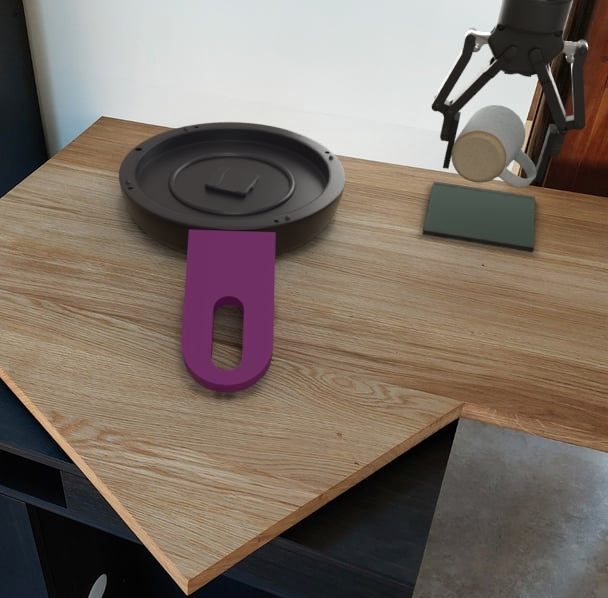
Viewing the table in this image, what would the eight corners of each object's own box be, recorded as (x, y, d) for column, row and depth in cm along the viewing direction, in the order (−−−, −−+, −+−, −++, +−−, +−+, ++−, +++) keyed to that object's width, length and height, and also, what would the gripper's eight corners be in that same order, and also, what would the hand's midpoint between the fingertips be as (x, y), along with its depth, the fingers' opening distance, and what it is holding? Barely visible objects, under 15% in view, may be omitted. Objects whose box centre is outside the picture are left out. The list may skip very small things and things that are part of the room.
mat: (533, 200, 110) (535, 196, 109) (532, 252, 100) (534, 247, 99) (433, 185, 112) (434, 181, 112) (422, 234, 103) (423, 230, 102)
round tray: (363, 178, 114) (176, 143, 122) (369, 139, 110) (174, 106, 117) (303, 289, 93) (81, 238, 101) (307, 246, 89) (76, 197, 97)
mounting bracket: (268, 415, 85) (272, 271, 92) (272, 386, 77) (276, 232, 84) (182, 411, 86) (192, 268, 92) (177, 382, 78) (189, 229, 84)
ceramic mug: (442, 178, 101) (456, 121, 96) (460, 153, 106) (474, 97, 101) (524, 200, 97) (543, 142, 92) (539, 173, 102) (558, 117, 97)
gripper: (430, -13, 86) (398, 169, 101) (655, 9, 82) (587, 198, 96) (437, -31, 92) (405, 145, 107) (648, -11, 87) (584, 170, 102)
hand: (491, 170), depth 101 cm, fingers closed on ceramic mug, 11 cm apart
